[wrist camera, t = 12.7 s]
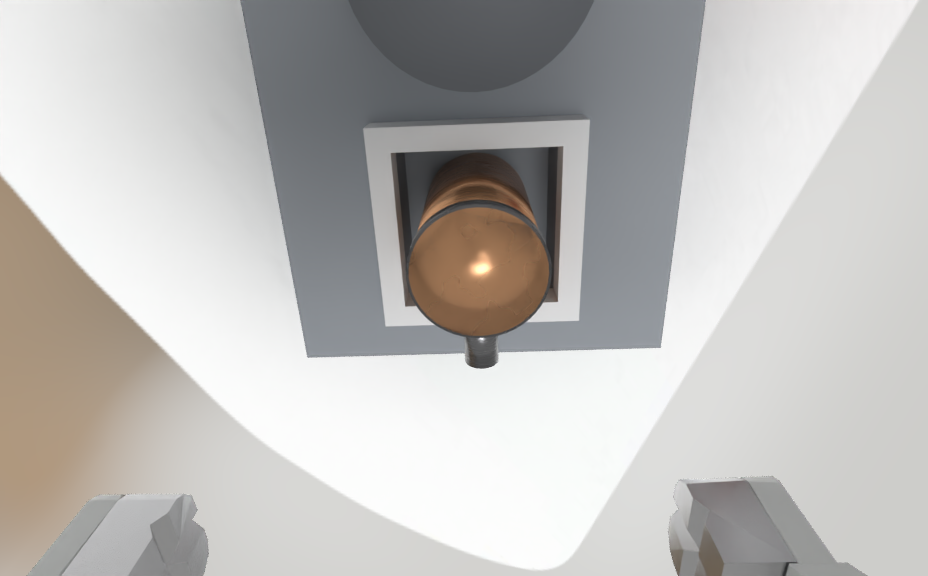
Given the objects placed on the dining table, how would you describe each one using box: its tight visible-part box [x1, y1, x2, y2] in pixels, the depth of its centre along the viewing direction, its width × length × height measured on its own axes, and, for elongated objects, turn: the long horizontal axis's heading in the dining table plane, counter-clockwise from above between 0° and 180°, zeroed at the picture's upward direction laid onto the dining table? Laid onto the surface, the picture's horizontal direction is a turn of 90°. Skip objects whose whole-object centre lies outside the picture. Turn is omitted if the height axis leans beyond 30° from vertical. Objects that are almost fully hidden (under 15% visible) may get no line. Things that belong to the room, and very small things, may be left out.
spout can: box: [406, 153, 552, 368], centre depth 24 cm, size 7×5×9 cm
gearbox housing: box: [241, 0, 706, 358], centre depth 24 cm, size 22×18×11 cm
